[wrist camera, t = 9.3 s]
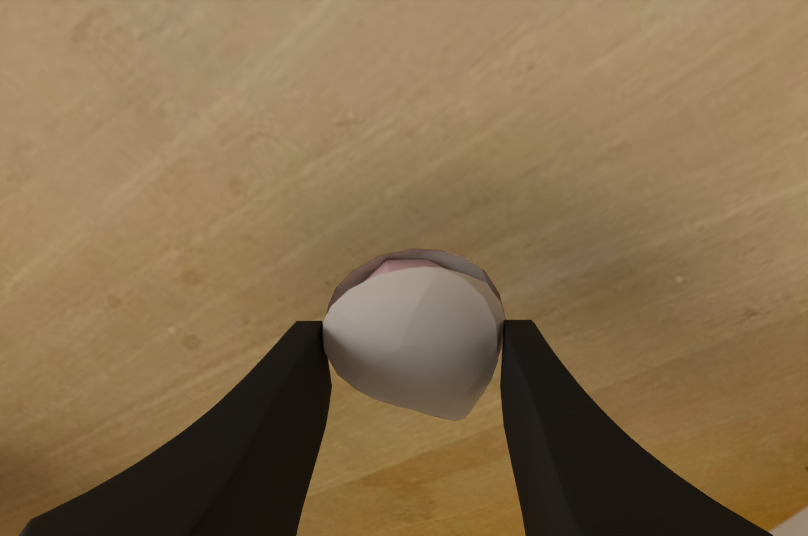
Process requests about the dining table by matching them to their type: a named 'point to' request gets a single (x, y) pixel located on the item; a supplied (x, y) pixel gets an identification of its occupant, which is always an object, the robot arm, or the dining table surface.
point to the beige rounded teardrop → (416, 331)
